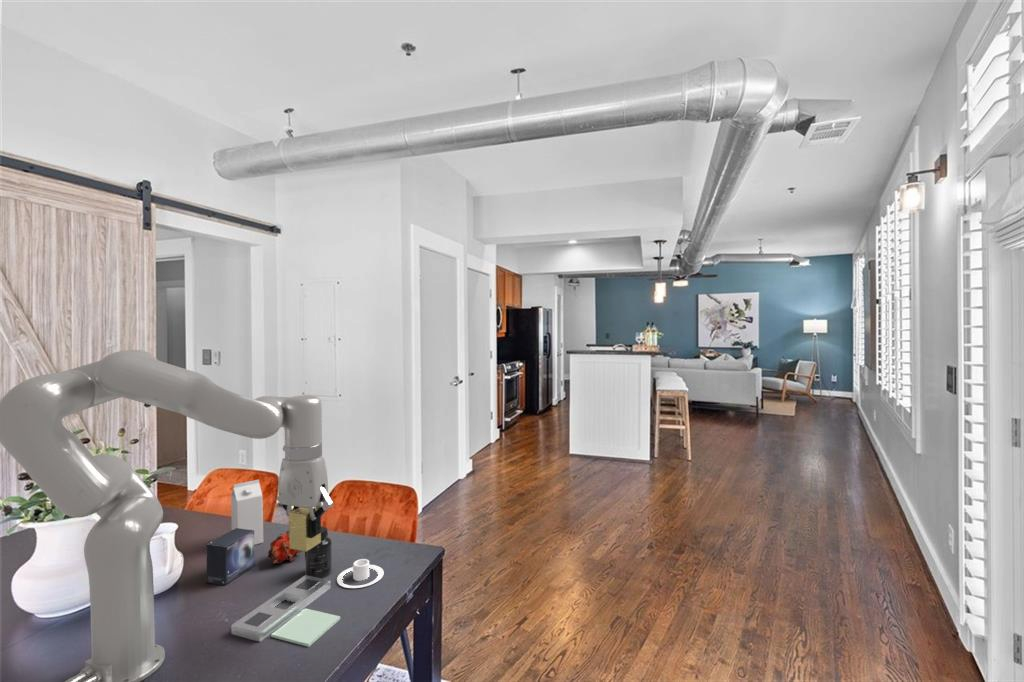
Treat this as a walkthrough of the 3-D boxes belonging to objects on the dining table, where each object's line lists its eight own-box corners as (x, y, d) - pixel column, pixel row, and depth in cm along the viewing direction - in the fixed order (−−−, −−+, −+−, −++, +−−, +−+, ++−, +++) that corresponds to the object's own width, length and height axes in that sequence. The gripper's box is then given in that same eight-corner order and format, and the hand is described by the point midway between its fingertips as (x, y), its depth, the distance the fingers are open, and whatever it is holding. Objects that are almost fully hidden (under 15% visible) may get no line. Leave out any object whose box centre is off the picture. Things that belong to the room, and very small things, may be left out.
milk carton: (231, 542, 148) (230, 481, 147) (256, 535, 153) (255, 476, 152) (237, 550, 143) (236, 487, 142) (263, 542, 147) (262, 482, 147)
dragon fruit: (306, 555, 143) (273, 580, 132) (287, 536, 144) (253, 559, 133) (316, 537, 140) (283, 561, 129) (297, 517, 141) (262, 540, 130)
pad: (308, 646, 99) (308, 644, 99) (271, 637, 103) (271, 634, 103) (340, 619, 109) (340, 616, 109) (305, 610, 112) (305, 608, 112)
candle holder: (335, 594, 120) (335, 577, 120) (337, 571, 131) (337, 555, 131) (385, 586, 123) (385, 569, 123) (382, 564, 135) (382, 549, 135)
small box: (226, 586, 123) (225, 546, 122) (205, 583, 124) (204, 544, 124) (256, 566, 133) (255, 529, 133) (236, 563, 134) (235, 527, 134)
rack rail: (260, 641, 101) (259, 632, 101) (231, 634, 104) (231, 624, 103) (330, 587, 122) (330, 579, 122) (305, 582, 124) (305, 574, 124)
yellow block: (306, 551, 103) (305, 514, 102) (289, 548, 104) (289, 512, 104) (320, 542, 107) (320, 507, 107) (304, 539, 108) (304, 504, 108)
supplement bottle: (305, 569, 131) (304, 526, 131) (331, 565, 134) (331, 522, 133) (304, 582, 125) (304, 537, 124) (332, 577, 127) (331, 532, 127)
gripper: (259, 453, 104) (261, 535, 104) (323, 460, 98) (324, 546, 99) (286, 445, 111) (287, 522, 111) (346, 451, 106) (347, 532, 106)
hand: (305, 533), depth 105 cm, fingers closed on yellow block, 4 cm apart
